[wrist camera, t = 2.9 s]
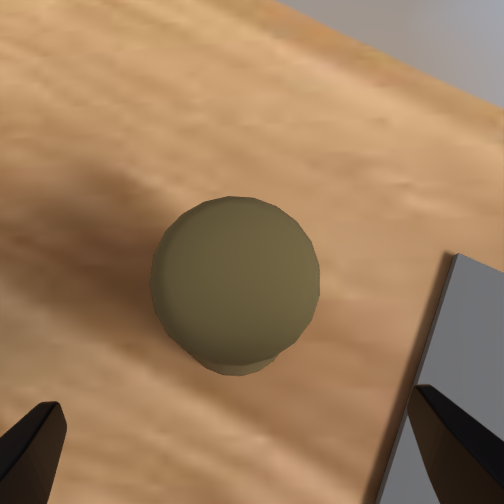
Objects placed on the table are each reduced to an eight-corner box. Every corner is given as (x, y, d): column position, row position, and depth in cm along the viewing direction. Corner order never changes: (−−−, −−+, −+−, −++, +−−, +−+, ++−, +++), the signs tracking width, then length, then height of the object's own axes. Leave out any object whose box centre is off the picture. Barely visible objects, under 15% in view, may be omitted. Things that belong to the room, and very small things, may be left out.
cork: (183, 382, 19) (121, 398, 9) (178, 270, 21) (120, 172, 11) (297, 369, 20) (368, 369, 9) (282, 260, 21) (328, 157, 11)
